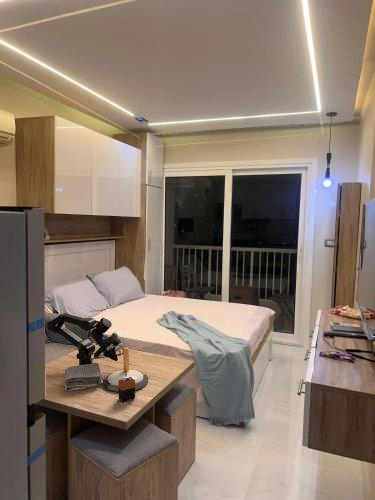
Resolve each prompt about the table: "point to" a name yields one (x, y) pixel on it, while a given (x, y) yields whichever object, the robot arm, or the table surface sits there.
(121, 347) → the caliper
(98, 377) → the towel
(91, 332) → the robot arm
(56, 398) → the table surface
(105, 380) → the dial plate
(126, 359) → the dial
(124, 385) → the battery
